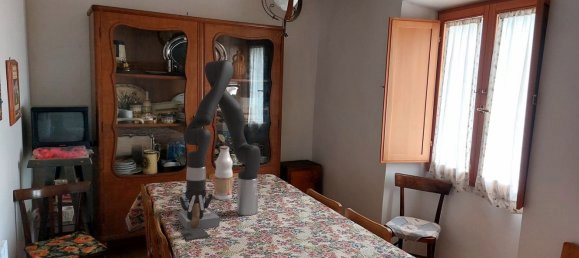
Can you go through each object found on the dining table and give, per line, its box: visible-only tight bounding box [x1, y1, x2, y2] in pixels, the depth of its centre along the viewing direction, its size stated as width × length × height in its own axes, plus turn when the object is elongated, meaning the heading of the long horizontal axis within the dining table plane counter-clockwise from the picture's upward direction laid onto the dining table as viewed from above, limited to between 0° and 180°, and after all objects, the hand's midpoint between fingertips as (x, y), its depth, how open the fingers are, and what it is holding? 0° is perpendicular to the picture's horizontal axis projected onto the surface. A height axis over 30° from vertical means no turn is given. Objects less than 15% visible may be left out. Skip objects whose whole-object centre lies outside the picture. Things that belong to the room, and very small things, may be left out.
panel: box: [178, 207, 221, 231], centre depth 166 cm, size 14×14×6 cm
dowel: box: [190, 202, 200, 228], centre depth 152 cm, size 4×4×10 cm
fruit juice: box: [213, 145, 234, 201], centre depth 203 cm, size 9×9×28 cm
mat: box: [180, 228, 210, 241], centre depth 153 cm, size 9×9×1 cm
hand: (195, 219), depth 152 cm, fingers closed on dowel, 3 cm apart
